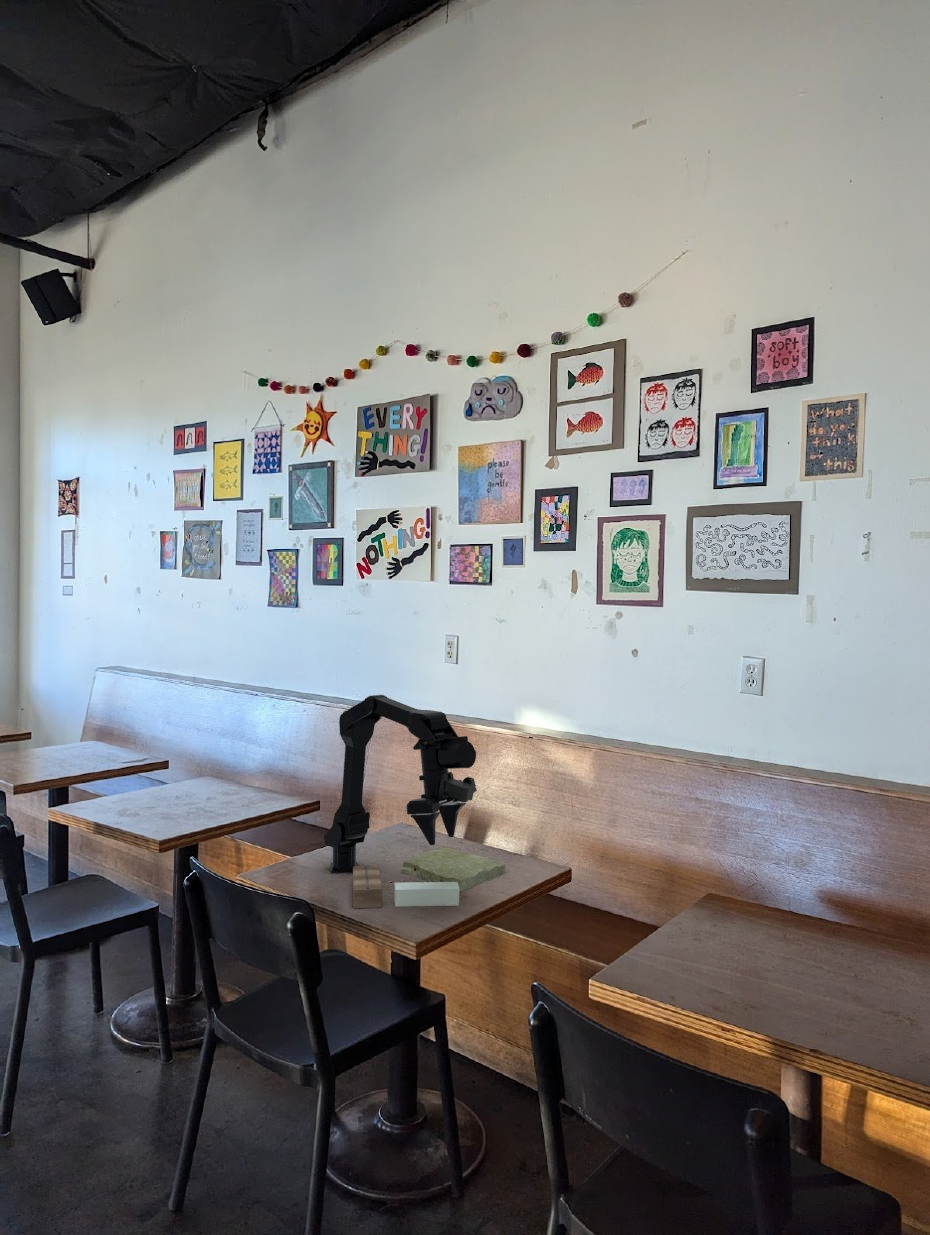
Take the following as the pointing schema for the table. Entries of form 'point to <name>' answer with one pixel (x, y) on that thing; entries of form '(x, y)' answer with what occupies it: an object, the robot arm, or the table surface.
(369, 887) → the walnut plank
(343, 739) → the robot arm
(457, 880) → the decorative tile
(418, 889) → the sage plank
